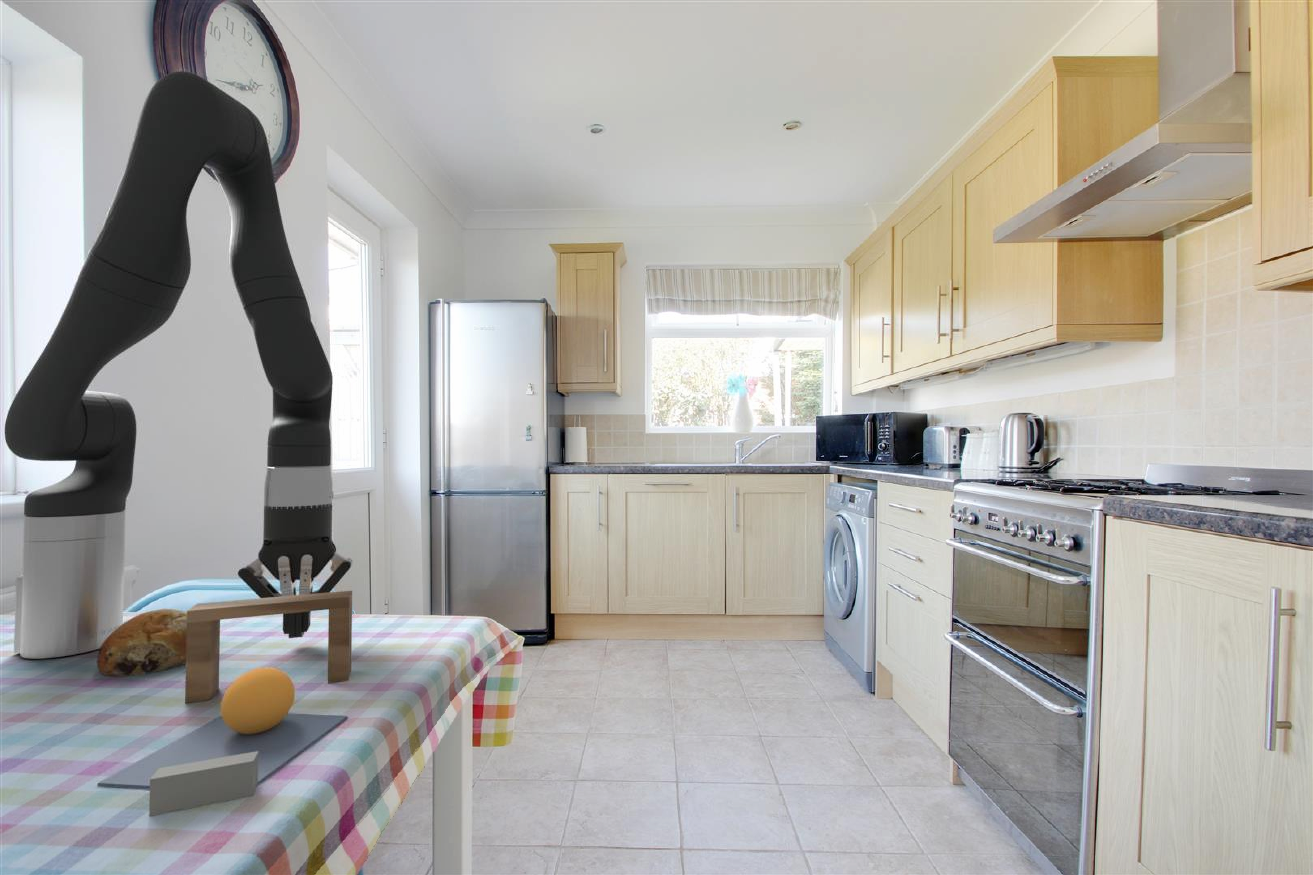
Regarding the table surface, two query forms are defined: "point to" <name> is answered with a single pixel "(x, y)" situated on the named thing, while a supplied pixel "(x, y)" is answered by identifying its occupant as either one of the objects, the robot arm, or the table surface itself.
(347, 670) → the bridge
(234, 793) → the rail
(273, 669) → the ball
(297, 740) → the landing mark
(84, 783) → the table surface
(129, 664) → the bread roll
